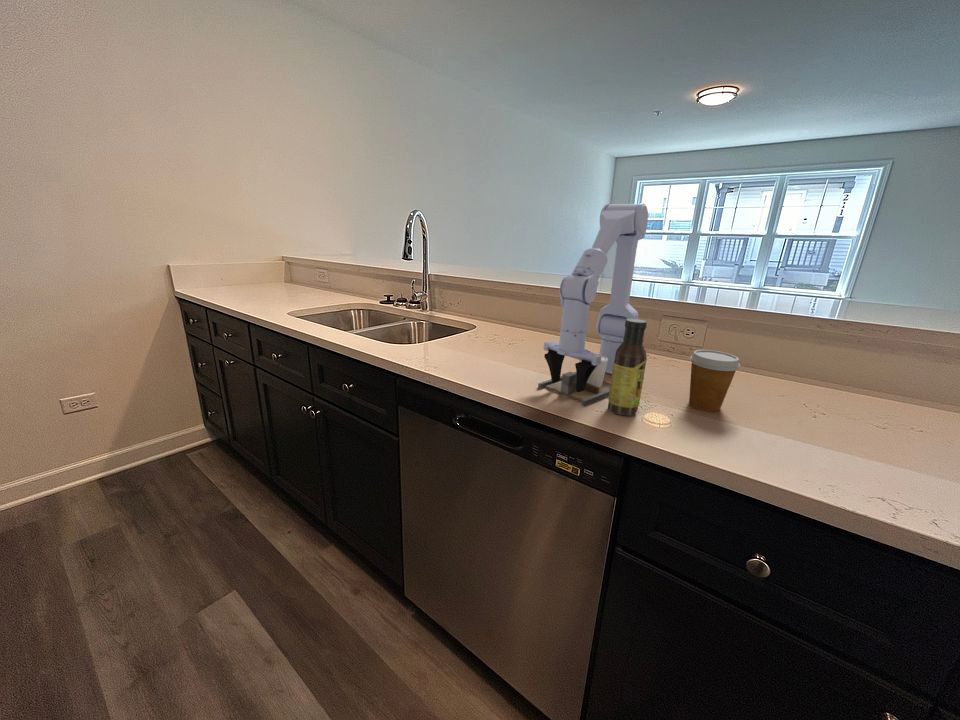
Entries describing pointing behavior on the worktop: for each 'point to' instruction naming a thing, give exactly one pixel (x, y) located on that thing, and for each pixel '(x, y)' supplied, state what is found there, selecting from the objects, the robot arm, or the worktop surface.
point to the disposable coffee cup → (711, 378)
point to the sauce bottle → (628, 370)
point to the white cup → (598, 372)
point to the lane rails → (583, 402)
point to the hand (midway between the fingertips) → (567, 386)
